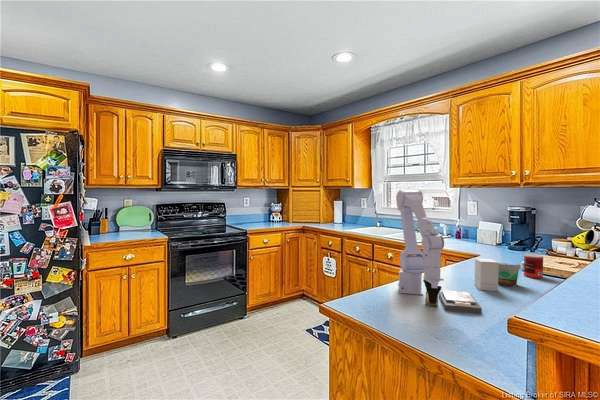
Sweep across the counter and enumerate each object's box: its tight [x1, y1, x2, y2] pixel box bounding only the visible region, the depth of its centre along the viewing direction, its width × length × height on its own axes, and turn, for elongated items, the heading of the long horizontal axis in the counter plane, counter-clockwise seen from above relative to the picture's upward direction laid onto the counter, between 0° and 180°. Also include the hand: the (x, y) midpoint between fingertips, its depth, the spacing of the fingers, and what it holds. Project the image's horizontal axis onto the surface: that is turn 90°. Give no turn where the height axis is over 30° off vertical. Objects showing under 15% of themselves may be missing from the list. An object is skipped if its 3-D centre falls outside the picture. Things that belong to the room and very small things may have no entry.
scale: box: [438, 291, 483, 315], centre depth 119 cm, size 12×15×3 cm
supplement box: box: [474, 257, 500, 292], centre depth 139 cm, size 7×7×13 cm
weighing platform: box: [441, 289, 477, 304], centre depth 121 cm, size 10×11×1 cm
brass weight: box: [425, 291, 439, 308], centre depth 119 cm, size 4×4×4 cm
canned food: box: [523, 253, 544, 280], centre depth 156 cm, size 8×8×11 cm
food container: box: [498, 262, 522, 288], centre depth 143 cm, size 12×6×10 cm, turn 68°
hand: (431, 301), depth 119 cm, fingers closed on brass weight, 4 cm apart
